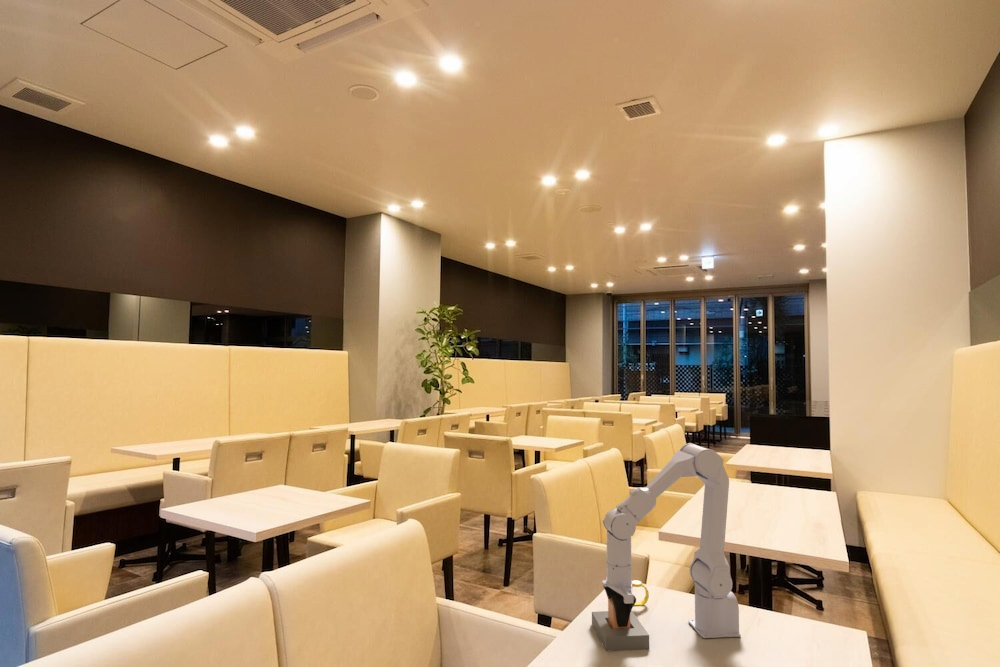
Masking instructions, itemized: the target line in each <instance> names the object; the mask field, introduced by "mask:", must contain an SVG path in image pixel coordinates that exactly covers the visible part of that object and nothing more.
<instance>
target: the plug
mask: <svg viewBox="0 0 1000 667" xmlns="http://www.w3.org/2000/svg"><path fill="white" fill-rule="evenodd" d="M607 602H608V603H607V611H608V624H609V626H610V627H611V629H628V628H630V616H629V621H628V625H627V627H618V624H617V620H616V613H615V607H614V604H613V601H612V599H611V598H608V597H607Z"/></svg>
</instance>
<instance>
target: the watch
mask: <svg viewBox="0 0 1000 667" xmlns="http://www.w3.org/2000/svg"><path fill="white" fill-rule="evenodd" d="M640 587H642V588H644V590H645V597H644V598H643V600H641V602H637V601H636V603H635V604H634V606H633V607H635V606H636V607H637V606H644V605H646V604H647V603H648V600H649V594H650V593H649V590H648V589H647V587H646V586H645V584H643V582H642V581H640V580H638V579H637V580H636V579H635V580H632V588H640Z"/></svg>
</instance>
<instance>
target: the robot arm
mask: <svg viewBox="0 0 1000 667" xmlns="http://www.w3.org/2000/svg"><path fill="white" fill-rule="evenodd" d="M687 477H689V478H691V477H695V478H696V477H698V478H699V479H700V480H701V482H702V483H703V484H704V492H703V501H702V502H703V503H702V505H703V507H702V516H701V517H702V518H701V529H700V544H699V545H700V546H699V548H698V549H697V550H696V551H694V554H693V559H692V561H691V564H690V566H689V576H690V577H691V579H692V580H693V581H694V619H689V620H688V623H689V625H690V626H692V628H693V629H694V630H695V631H696V632H697V633H698V635H699V636H700V637H701V638H702V639H708V638H709V639H712V638H714V639H715V638H734V637H741V636H742V634H741V633H740V610H739V609H740V608H739V602H738V599H737V597H736V595H735V594H734V592H733V591H732V589H733V579H732V576H731V571H730V570H731V567H730V564H729V561H728V560H727V557H726V555H725V541H726V531H727V530H726V529H727V527H726V526H727V513H728V502H729V490H730V479H729V476H728V474H727V470H726V468H725V466H724V458H723V457H722V456H721V455H720V454H718V453H717V452H716V450H713V449H712V448H711V449H710V448H707V447H704V446H700V445H697V444H695V443H691V442H689V443H685V444H684V445H682V446H681V447H680V449H679V450H676V452H674V453H673V456H672V458H671V459H670V461H668V463H667V464H666V465H665V466H664V467H663V468H662V469H661V470H660V471H659V473H657V475H655V477H654V478H653V479H652V480H651V481H650V482H649V483H648V484H647V485H646V486H645V487H641V486H640V487H637V488H636V489H634V488H633V489H631V490H630V491H629V493H630V495H629V496H627V498H625V499H624V500H623V501H622V502H621V503H619V504H617V505H616V508H613V509H610V510H608V512H607V513H606V514H605V516H604V518H603V520H602V524H603V527H604V528H605V530H606V571H605V572H606V573H605V575H606V576H605V578H606V579H603V580H601V585H602V587H603V589H604V590H605V594H606V597H607V599H608V598H611V599H612V601H613V604H614V607H615V613H616V620H617V624H618V627H627V625H628V621H629V616H630V613H631V610H633V607H635V606H634V604H635V603H636V602H637V598H636V596H635V594H633V587H632V581H633V580H632V577H633V576H632V537H633V536H634V535H635V532H636V531H637V530H636V527H637V525H638V524H639V523H640V522H641V521H642V520H643V519H644V518H645V517H646V516H647V515H648V514H649V513H650V512H652V510H654V508H655V507H656V506H657V498H659V497H660V496H661V495H662V494H663V493H664V492H665V491H666V490H668V489H669V488H670V487H672V486H673V485H674V484H675V483H676V482H677V481H678V480H679V479H681V478H687Z"/></svg>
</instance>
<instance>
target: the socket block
mask: <svg viewBox="0 0 1000 667" xmlns="http://www.w3.org/2000/svg"><path fill="white" fill-rule="evenodd" d="M632 610H633V609H632ZM632 610H631V613H630V628H628V629H611V627H610V626H609V624H608V610H606V611H605V610H604V611H600V610H599V611H591V625H592V628H593V629H594V631H595V633H596V635H597V637H598V639H599V640H600V642H601V644H602V646H603V648H604V651H605V652H607V651H609V652H610V651H625V650H626V651H630V650H649V649H650V634H649V632H648V631H647V630H646V628H645V627H644V626H643V624H642V623H641V622H640V620H639V618H638V617H637V616H636V614H635V613H634V612H633V611H632Z"/></svg>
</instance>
